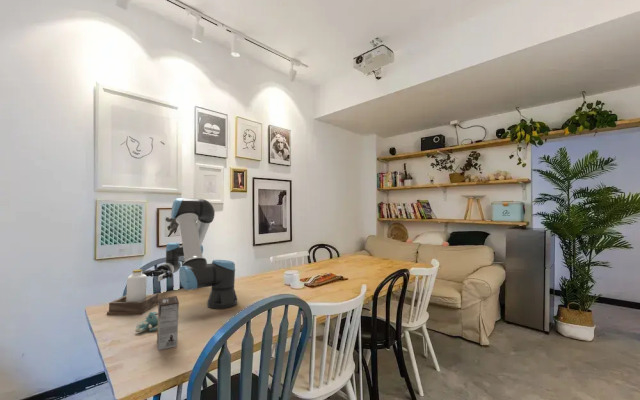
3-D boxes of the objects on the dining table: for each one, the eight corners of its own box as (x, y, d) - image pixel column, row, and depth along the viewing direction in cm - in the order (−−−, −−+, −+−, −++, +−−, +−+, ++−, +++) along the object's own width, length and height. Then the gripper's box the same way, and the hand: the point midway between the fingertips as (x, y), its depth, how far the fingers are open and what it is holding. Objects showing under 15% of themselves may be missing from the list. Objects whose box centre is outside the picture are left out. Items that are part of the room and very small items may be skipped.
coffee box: (156, 340, 108) (158, 298, 109) (175, 336, 112) (176, 295, 112) (157, 350, 100) (159, 304, 101) (177, 346, 104) (179, 302, 104)
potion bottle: (136, 309, 137) (138, 272, 138) (121, 308, 139) (123, 271, 140) (149, 304, 146) (151, 269, 146) (135, 303, 147) (136, 268, 148)
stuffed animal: (125, 320, 114) (149, 305, 125) (127, 336, 115) (151, 320, 126) (147, 323, 111) (170, 307, 123) (149, 339, 112) (171, 322, 124)
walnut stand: (127, 303, 150) (128, 293, 150) (158, 303, 151) (159, 293, 151) (106, 314, 134) (107, 303, 134) (141, 314, 135) (142, 303, 135)
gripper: (185, 276, 174) (169, 285, 153) (143, 276, 172) (121, 285, 151) (185, 264, 174) (170, 271, 153) (143, 264, 172) (121, 271, 151)
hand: (145, 278), depth 152 cm, fingers open, 13 cm apart
